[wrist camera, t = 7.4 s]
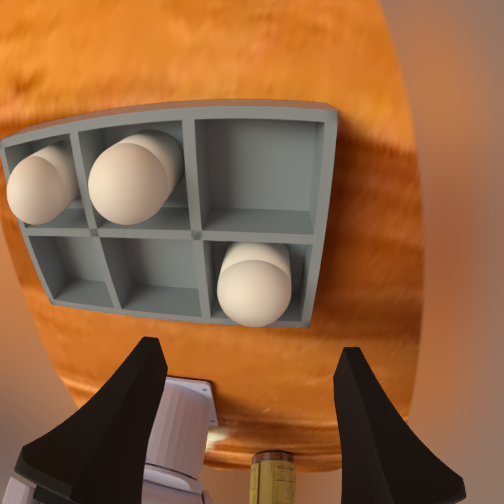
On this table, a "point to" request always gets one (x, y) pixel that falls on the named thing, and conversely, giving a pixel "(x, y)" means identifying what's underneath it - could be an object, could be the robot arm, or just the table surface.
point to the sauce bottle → (273, 478)
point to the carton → (188, 207)
